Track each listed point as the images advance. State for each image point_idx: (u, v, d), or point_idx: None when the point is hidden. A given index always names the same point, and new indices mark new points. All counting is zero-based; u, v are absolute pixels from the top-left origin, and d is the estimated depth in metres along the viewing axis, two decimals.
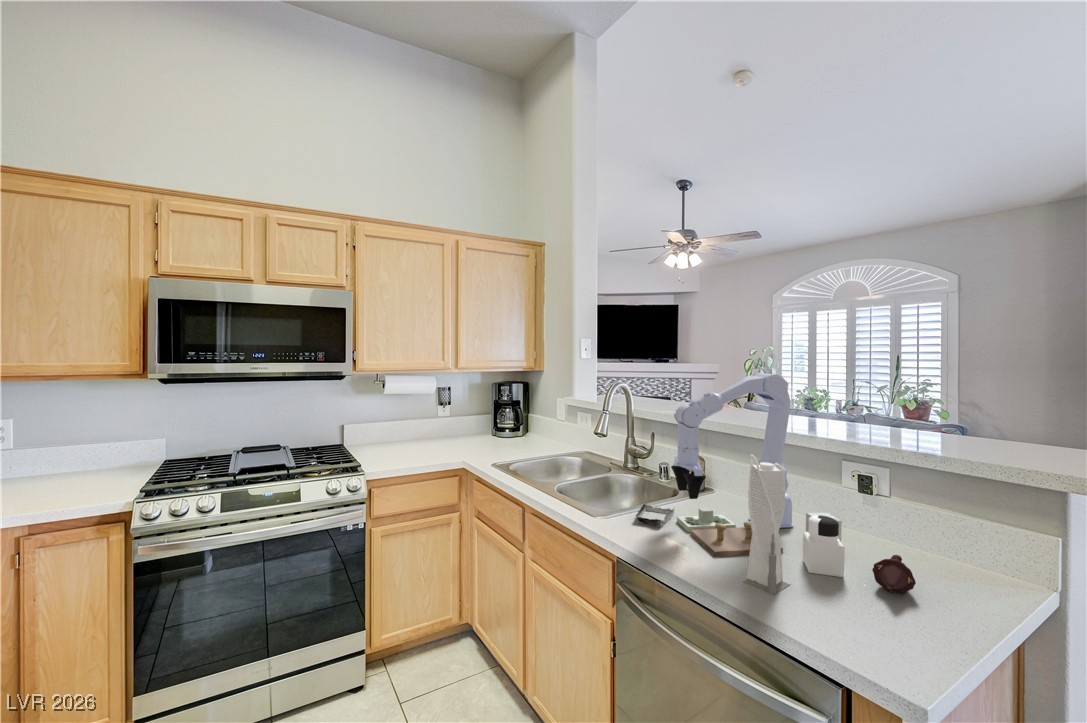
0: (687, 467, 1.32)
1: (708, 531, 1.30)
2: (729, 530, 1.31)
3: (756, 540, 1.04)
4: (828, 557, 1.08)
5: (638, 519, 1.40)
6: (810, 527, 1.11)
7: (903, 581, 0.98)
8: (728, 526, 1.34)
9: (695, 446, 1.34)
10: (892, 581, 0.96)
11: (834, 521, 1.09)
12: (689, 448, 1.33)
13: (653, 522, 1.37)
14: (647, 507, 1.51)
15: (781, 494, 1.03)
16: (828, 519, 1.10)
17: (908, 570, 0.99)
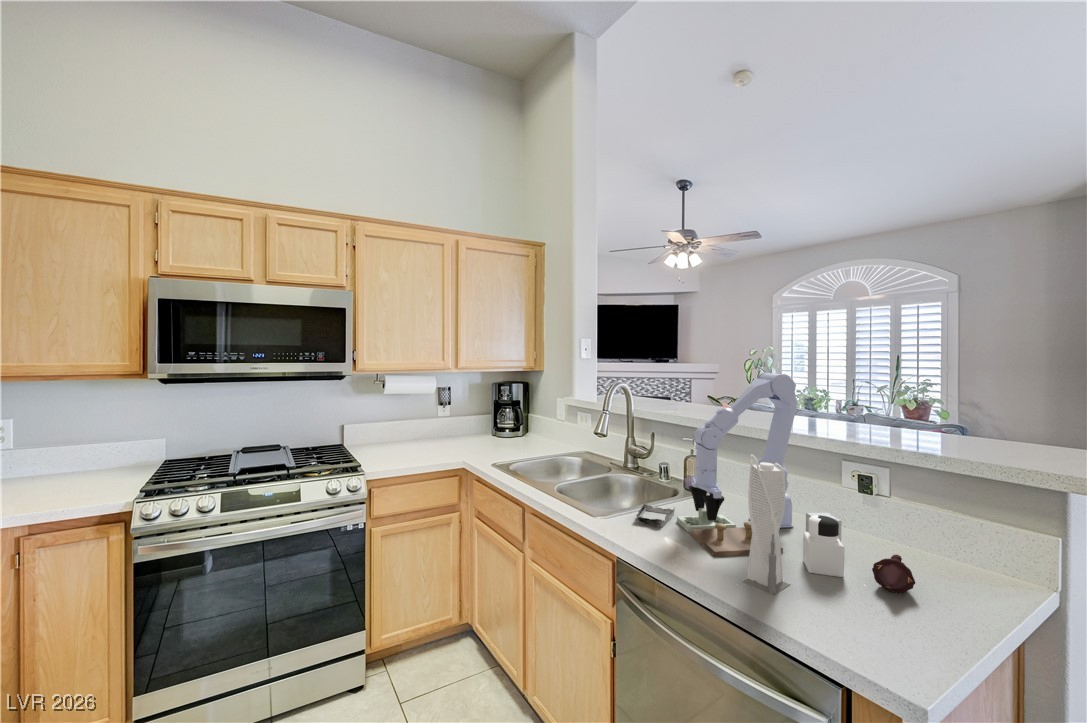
0: (706, 489, 1.33)
1: (708, 531, 1.30)
2: (729, 530, 1.31)
3: (756, 540, 1.04)
4: (828, 557, 1.08)
5: (639, 519, 1.40)
6: (810, 527, 1.11)
7: (902, 580, 0.98)
8: (728, 526, 1.34)
9: (714, 468, 1.35)
10: (891, 581, 0.96)
11: (834, 521, 1.09)
12: (708, 470, 1.34)
13: (654, 521, 1.37)
14: (647, 507, 1.51)
15: (781, 494, 1.03)
16: (828, 519, 1.10)
17: (908, 570, 1.00)
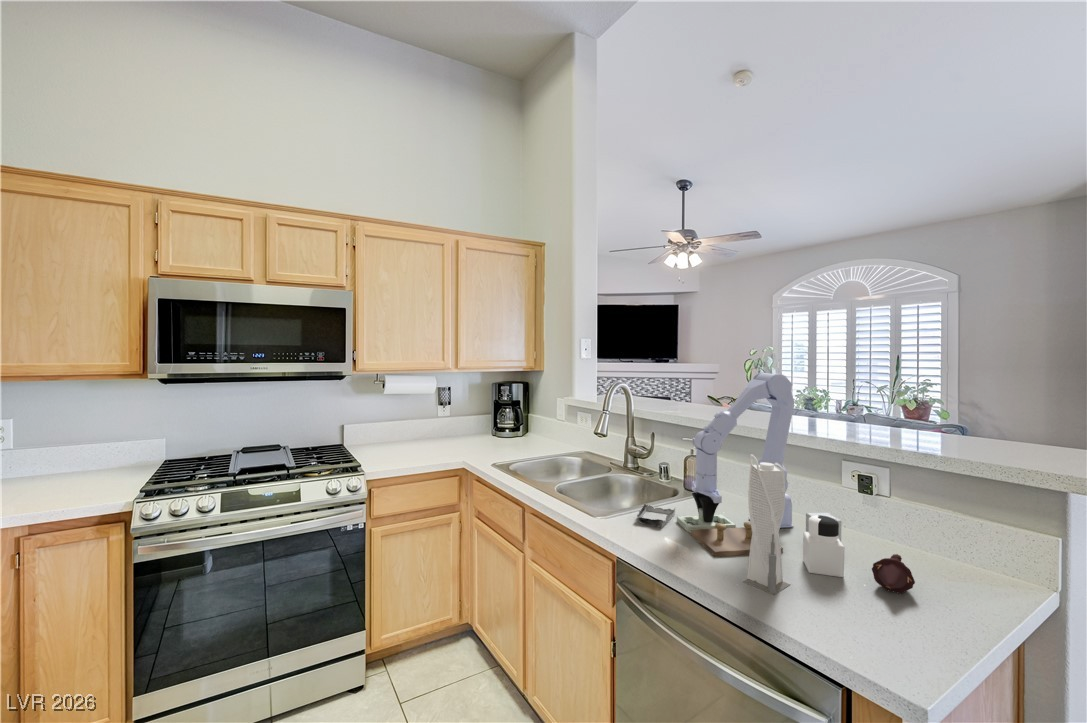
0: (706, 494, 1.33)
1: (708, 531, 1.30)
2: (729, 530, 1.31)
3: (756, 540, 1.04)
4: (828, 557, 1.08)
5: (639, 519, 1.40)
6: (810, 527, 1.11)
7: (902, 580, 0.98)
8: (728, 526, 1.34)
9: (714, 473, 1.35)
10: (891, 581, 0.97)
11: (834, 521, 1.09)
12: (708, 475, 1.35)
13: (655, 522, 1.37)
14: (648, 507, 1.51)
15: (781, 494, 1.03)
16: (828, 519, 1.10)
17: (907, 569, 1.00)
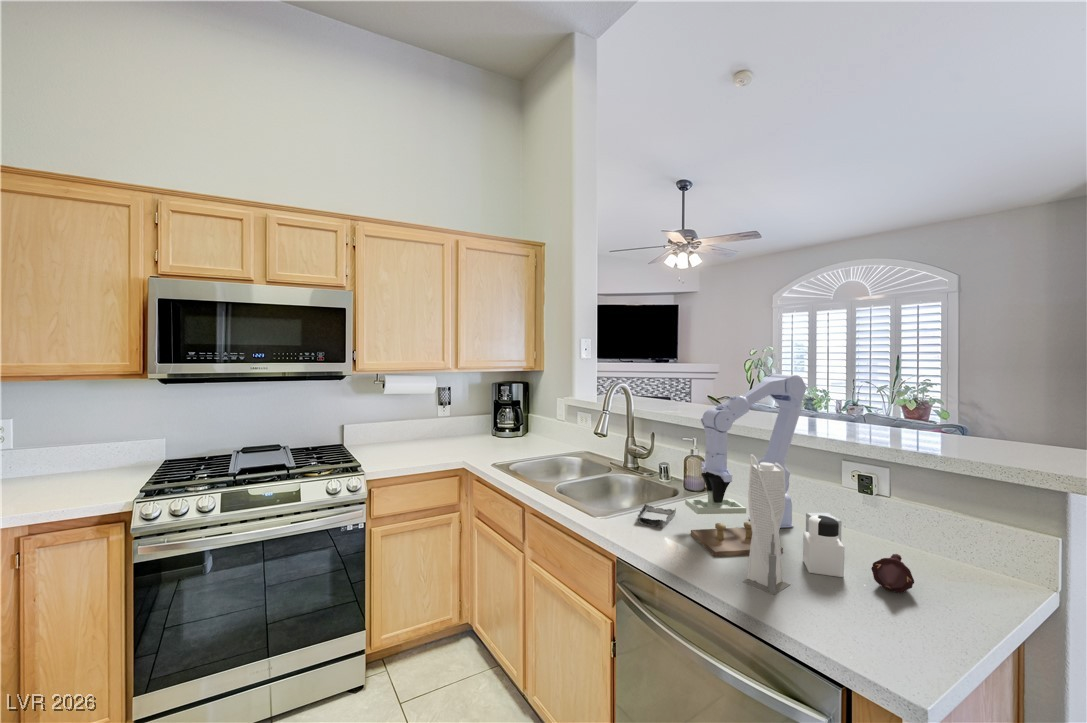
0: (716, 473, 1.29)
1: (708, 531, 1.30)
2: (729, 530, 1.31)
3: (756, 540, 1.04)
4: (828, 557, 1.08)
5: (640, 519, 1.40)
6: (810, 527, 1.11)
7: (901, 580, 0.98)
8: (738, 509, 1.30)
9: (725, 451, 1.31)
10: (890, 580, 0.97)
11: (834, 521, 1.09)
12: (720, 453, 1.30)
13: (656, 522, 1.37)
14: (648, 507, 1.50)
15: (781, 494, 1.03)
16: (828, 519, 1.10)
17: (907, 569, 1.00)
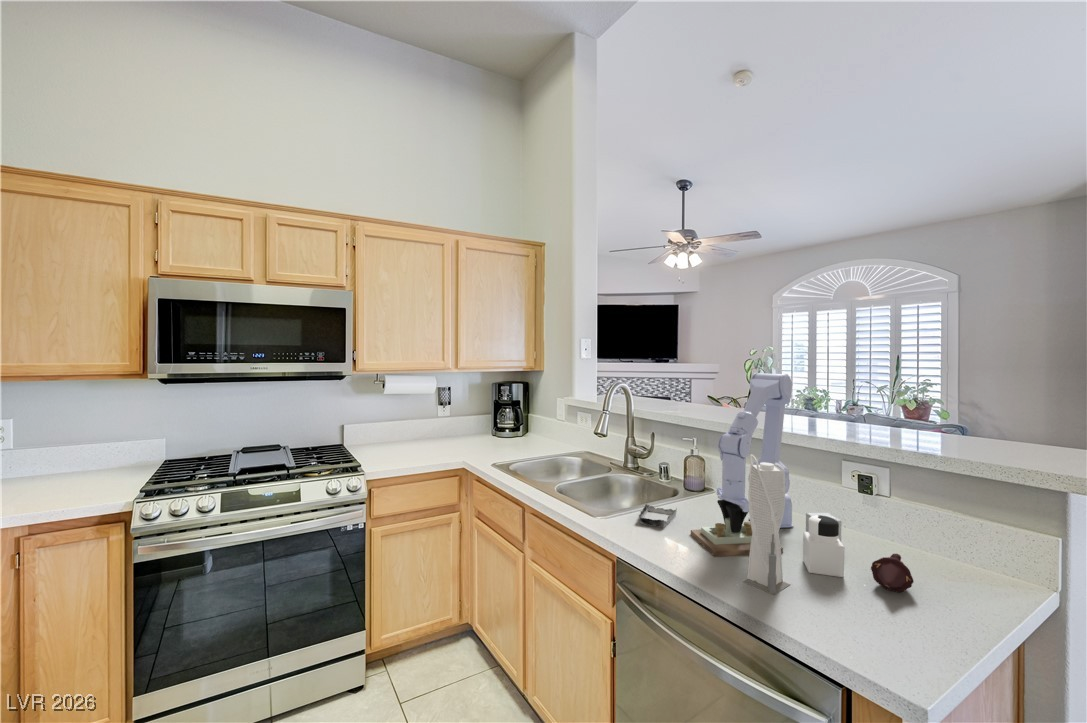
0: (734, 502, 1.22)
1: None
2: None
3: (756, 540, 1.04)
4: (828, 557, 1.08)
5: (641, 520, 1.39)
6: (810, 527, 1.11)
7: (900, 579, 0.99)
8: None
9: None
10: (889, 579, 0.97)
11: (834, 521, 1.09)
12: (742, 481, 1.24)
13: (656, 522, 1.37)
14: (649, 507, 1.50)
15: (781, 494, 1.03)
16: (828, 519, 1.10)
17: (906, 568, 1.00)
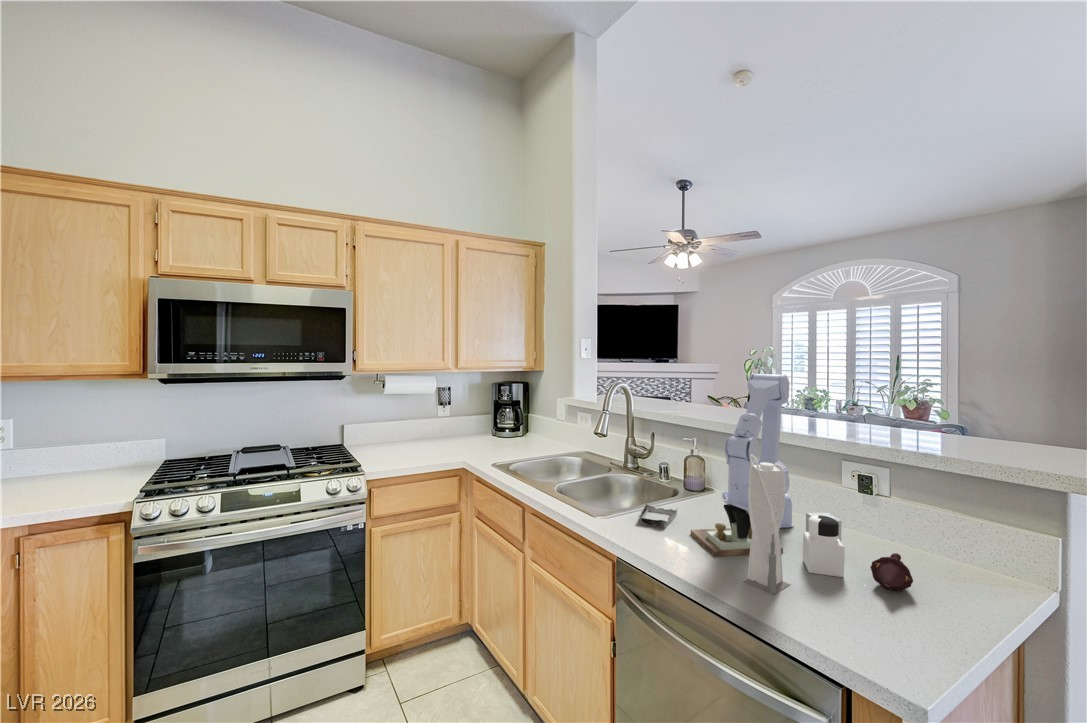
0: (741, 506, 1.19)
1: (708, 531, 1.30)
2: (729, 530, 1.31)
3: (756, 540, 1.04)
4: (828, 557, 1.08)
5: (642, 520, 1.39)
6: (810, 527, 1.11)
7: (900, 579, 0.99)
8: None
9: None
10: (888, 579, 0.97)
11: (834, 521, 1.09)
12: None
13: (657, 522, 1.37)
14: (650, 508, 1.50)
15: (781, 494, 1.03)
16: (828, 519, 1.10)
17: (906, 568, 1.00)
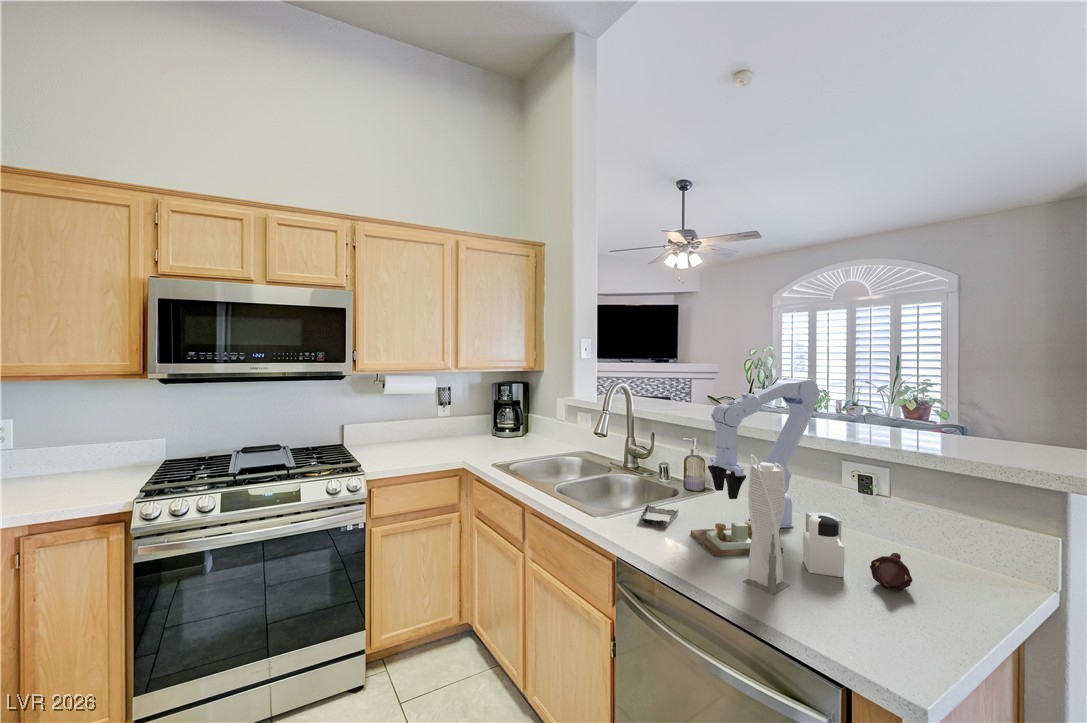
0: (727, 467, 1.31)
1: (708, 531, 1.30)
2: (729, 530, 1.31)
3: (756, 540, 1.04)
4: (828, 557, 1.08)
5: (643, 520, 1.39)
6: (810, 527, 1.11)
7: (899, 578, 0.99)
8: None
9: (735, 446, 1.33)
10: (887, 578, 0.98)
11: (834, 521, 1.09)
12: (730, 448, 1.32)
13: (659, 523, 1.36)
14: (651, 508, 1.50)
15: (781, 494, 1.03)
16: (828, 519, 1.10)
17: (905, 567, 1.01)
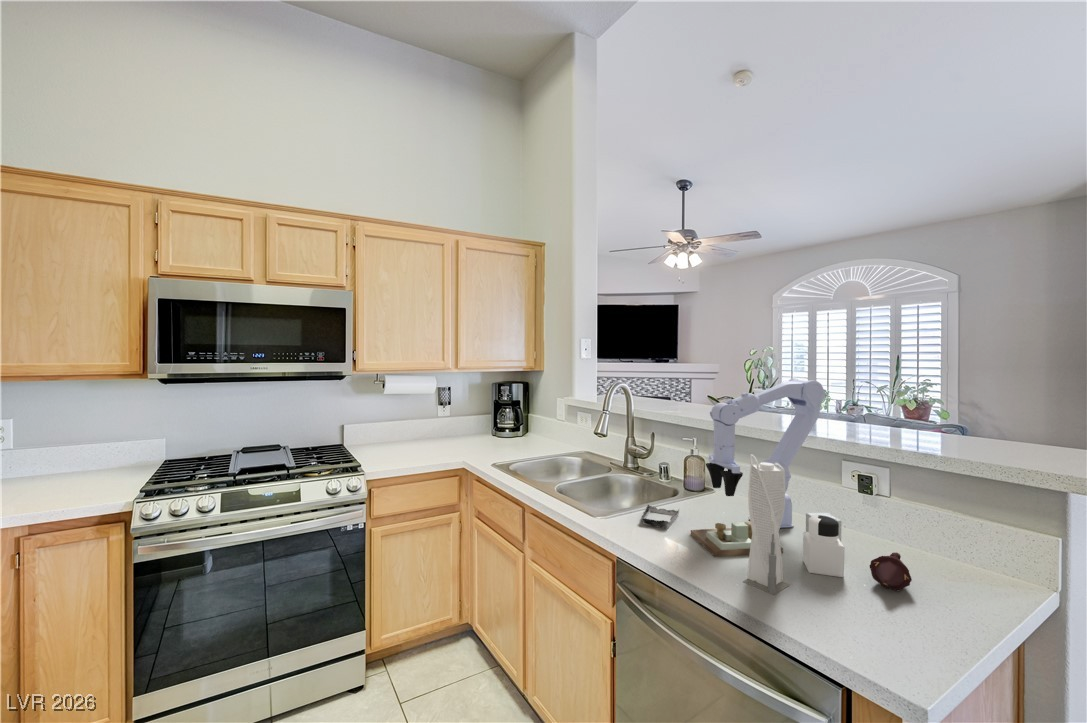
0: (724, 464, 1.33)
1: (708, 531, 1.30)
2: (729, 530, 1.31)
3: (756, 540, 1.04)
4: (828, 557, 1.08)
5: (644, 520, 1.39)
6: (810, 527, 1.11)
7: (898, 577, 0.99)
8: None
9: (732, 444, 1.35)
10: (886, 577, 0.98)
11: (834, 521, 1.09)
12: (726, 446, 1.34)
13: (660, 523, 1.36)
14: (651, 508, 1.50)
15: (781, 494, 1.03)
16: (828, 519, 1.10)
17: (904, 567, 1.01)
